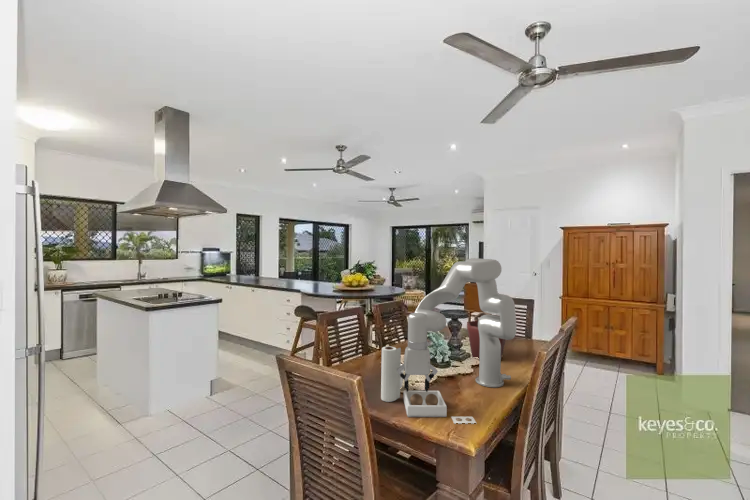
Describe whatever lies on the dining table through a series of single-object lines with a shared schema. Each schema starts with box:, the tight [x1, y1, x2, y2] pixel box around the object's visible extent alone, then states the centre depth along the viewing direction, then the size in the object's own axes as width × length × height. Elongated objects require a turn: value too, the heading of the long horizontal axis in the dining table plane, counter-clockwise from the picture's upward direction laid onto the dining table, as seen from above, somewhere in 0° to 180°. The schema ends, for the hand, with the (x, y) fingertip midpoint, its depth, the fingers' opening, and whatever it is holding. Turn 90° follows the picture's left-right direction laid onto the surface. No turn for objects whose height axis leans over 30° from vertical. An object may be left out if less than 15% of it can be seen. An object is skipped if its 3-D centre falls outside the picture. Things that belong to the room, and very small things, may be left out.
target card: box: [450, 416, 477, 425], centre depth 136 cm, size 8×5×1 cm, turn 91°
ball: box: [425, 394, 438, 405], centre depth 145 cm, size 5×5×5 cm
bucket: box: [466, 311, 507, 358], centre depth 213 cm, size 24×22×25 cm
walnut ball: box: [410, 394, 423, 405], centre depth 145 cm, size 5×5×5 cm
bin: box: [403, 390, 448, 418], centre depth 145 cm, size 15×15×4 cm
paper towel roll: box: [380, 346, 402, 403], centre depth 153 cm, size 7×6×21 cm
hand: (416, 389), depth 145 cm, fingers open, 7 cm apart
